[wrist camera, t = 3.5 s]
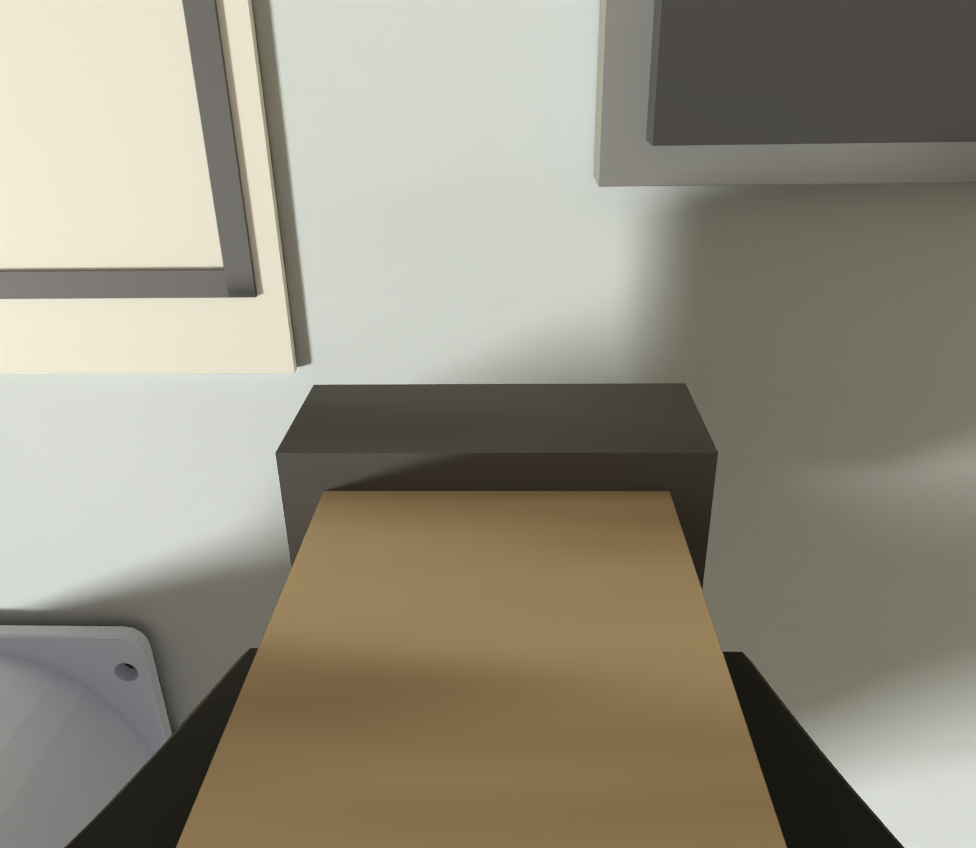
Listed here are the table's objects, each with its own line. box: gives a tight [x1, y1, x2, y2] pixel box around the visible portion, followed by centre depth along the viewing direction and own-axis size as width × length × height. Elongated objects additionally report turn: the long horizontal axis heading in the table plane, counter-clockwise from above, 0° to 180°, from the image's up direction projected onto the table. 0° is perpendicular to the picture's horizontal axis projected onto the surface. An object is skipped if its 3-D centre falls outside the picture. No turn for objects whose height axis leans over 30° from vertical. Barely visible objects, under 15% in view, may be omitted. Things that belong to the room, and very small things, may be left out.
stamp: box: [176, 384, 787, 848], centre depth 9 cm, size 5×5×8 cm
